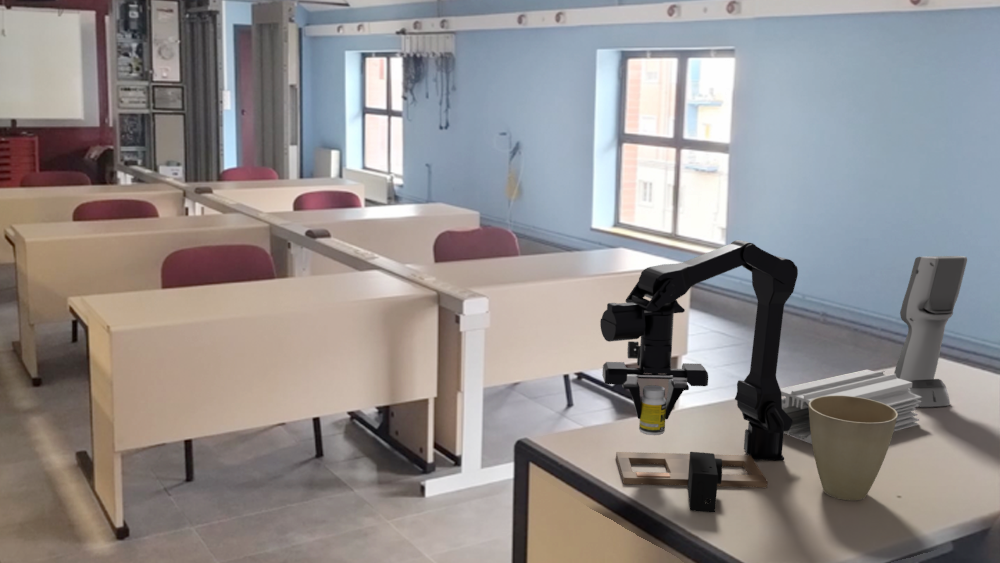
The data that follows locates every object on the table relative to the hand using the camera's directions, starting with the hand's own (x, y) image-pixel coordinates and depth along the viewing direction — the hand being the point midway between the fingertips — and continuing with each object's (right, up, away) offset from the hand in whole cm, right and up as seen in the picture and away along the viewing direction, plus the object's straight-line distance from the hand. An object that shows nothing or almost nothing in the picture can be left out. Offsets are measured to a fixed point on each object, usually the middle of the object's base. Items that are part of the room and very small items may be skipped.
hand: (652, 418), depth 186 cm
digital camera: (+8, -13, -10) cm, 18 cm away
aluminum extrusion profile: (+46, -6, +30) cm, 55 cm away
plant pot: (+34, -13, -6) cm, 36 cm away
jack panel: (+7, -10, +2) cm, 13 cm away
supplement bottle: (0, -3, 0) cm, 3 cm away
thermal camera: (+70, -2, +51) cm, 87 cm away
